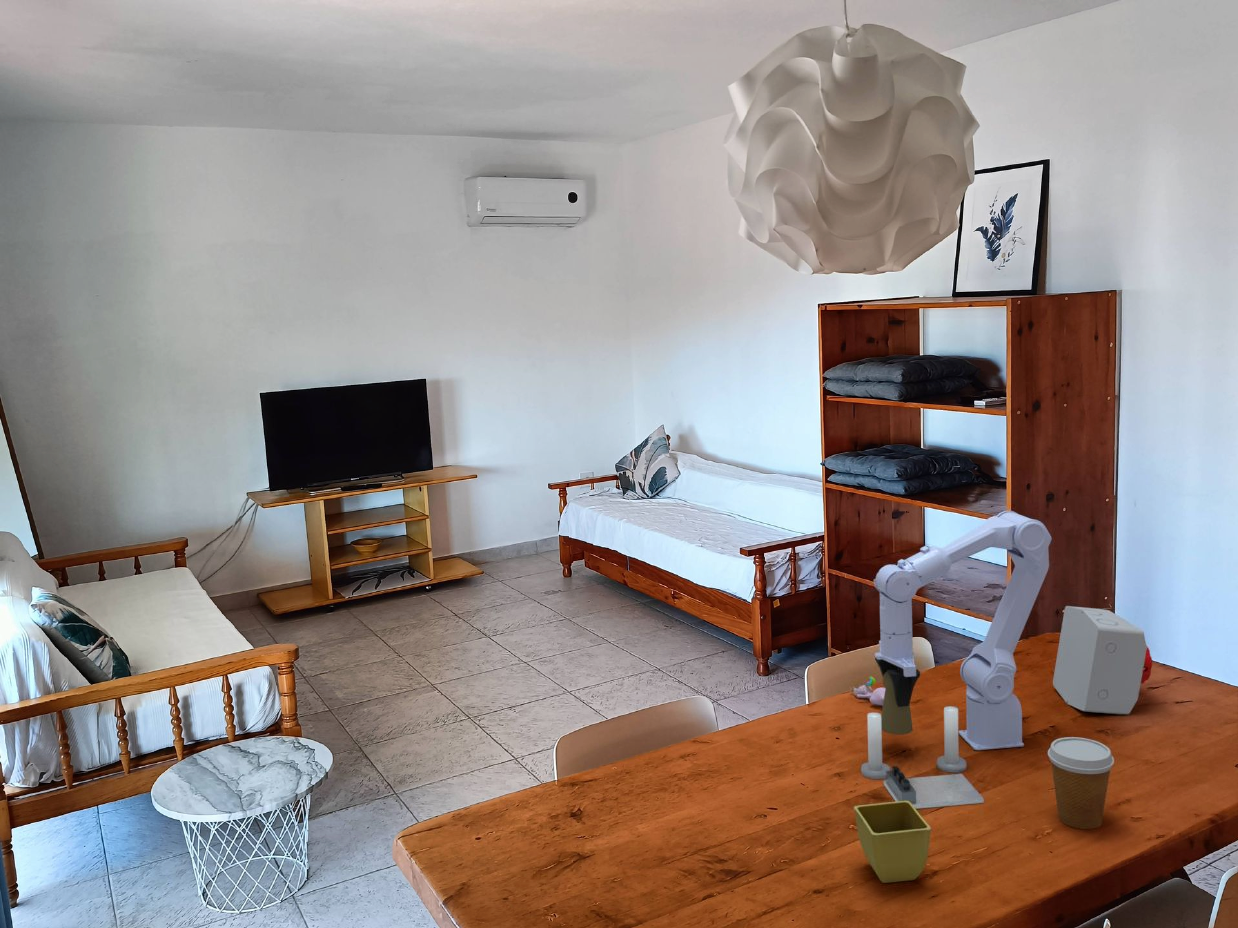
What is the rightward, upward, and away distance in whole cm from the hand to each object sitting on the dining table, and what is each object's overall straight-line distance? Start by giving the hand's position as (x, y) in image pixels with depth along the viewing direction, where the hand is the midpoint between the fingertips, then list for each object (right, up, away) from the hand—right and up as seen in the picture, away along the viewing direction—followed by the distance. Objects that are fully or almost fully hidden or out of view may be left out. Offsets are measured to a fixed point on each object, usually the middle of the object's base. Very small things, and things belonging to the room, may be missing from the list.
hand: (897, 699), depth 182 cm
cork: (0, -6, +1) cm, 6 cm away
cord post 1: (-6, -12, -7) cm, 15 cm away
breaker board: (+2, -12, -15) cm, 20 cm away
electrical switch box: (+48, -5, +18) cm, 51 cm away
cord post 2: (+8, -11, -6) cm, 15 cm away
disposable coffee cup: (+22, -13, -26) cm, 36 cm away
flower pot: (-12, -17, -38) cm, 43 cm away
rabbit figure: (+2, -7, +23) cm, 25 cm away
